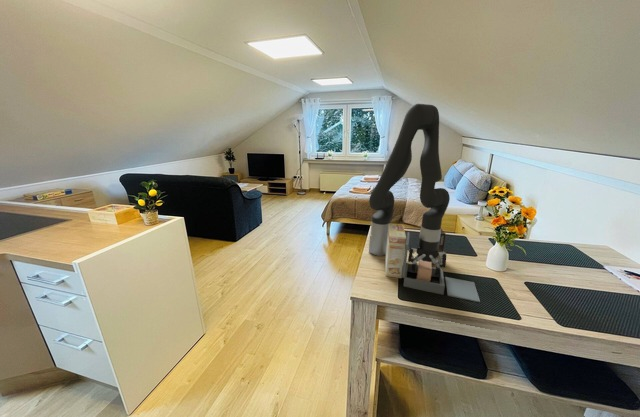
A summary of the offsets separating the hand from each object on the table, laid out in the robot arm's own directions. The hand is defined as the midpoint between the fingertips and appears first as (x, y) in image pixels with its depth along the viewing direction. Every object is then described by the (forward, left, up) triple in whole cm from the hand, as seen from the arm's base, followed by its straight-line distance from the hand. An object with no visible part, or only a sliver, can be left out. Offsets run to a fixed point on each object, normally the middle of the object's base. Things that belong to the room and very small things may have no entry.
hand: (424, 272), depth 104 cm
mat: (+14, 0, -5) cm, 15 cm away
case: (0, 0, -5) cm, 5 cm away
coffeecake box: (-13, +6, -5) cm, 15 cm away
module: (0, 0, -5) cm, 5 cm away
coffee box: (+3, +20, -5) cm, 21 cm away
